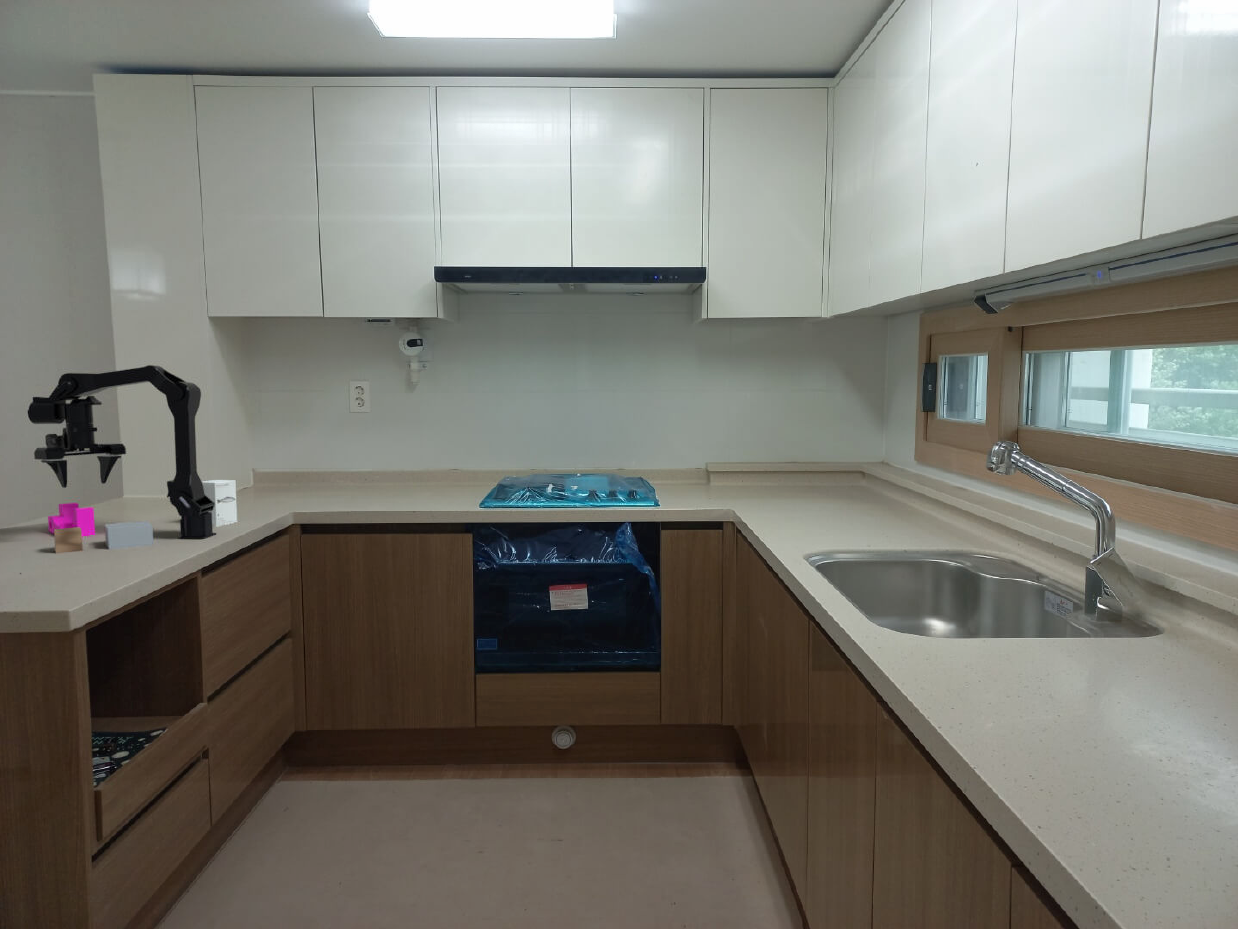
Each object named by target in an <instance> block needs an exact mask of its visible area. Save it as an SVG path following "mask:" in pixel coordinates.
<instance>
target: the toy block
mask: <svg viewBox="0 0 1238 929" xmlns="http://www.w3.org/2000/svg"><path fill="white" fill-rule="evenodd" d="M94 510H95V509H94V507H91V506H88V507H79V503H78V502H69V503H68V502H67V503H59V504H58V514H57V515H48V516H47V521H48V522H47V523H48V524H47V525H48V532H49V531H50V532H49V533H51V532H52V533H51V534H53V533H54V529H64V528H76V527H80V528H81V532H82V538H84V537H83V536H87V537H90V536H89V535H95V536H96V527H95V511H94Z"/></svg>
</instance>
